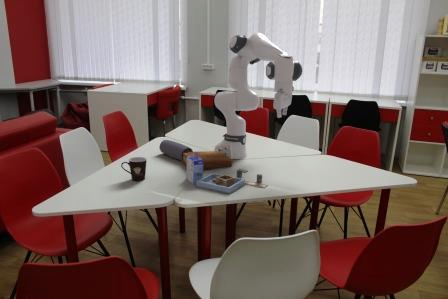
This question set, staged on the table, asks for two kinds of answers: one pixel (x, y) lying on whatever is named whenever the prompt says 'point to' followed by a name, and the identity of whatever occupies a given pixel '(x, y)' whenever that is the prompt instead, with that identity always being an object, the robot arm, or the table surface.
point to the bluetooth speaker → (174, 149)
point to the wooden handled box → (259, 180)
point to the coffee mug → (137, 168)
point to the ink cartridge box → (194, 168)
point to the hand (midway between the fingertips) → (281, 116)
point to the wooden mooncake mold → (225, 180)
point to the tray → (209, 184)
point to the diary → (210, 159)
